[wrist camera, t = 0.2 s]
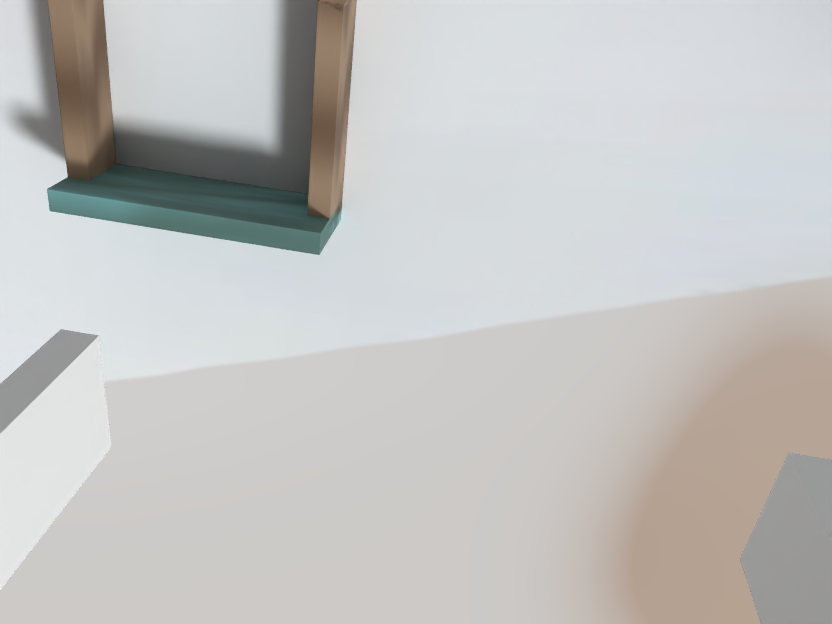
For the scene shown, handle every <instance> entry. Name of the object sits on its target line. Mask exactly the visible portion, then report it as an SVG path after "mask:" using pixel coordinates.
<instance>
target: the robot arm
mask: <svg viewBox="0 0 832 624" xmlns="http://www.w3.org/2000/svg"><path fill="white" fill-rule="evenodd" d="M110 448H111V441H110V431H109V422H108V413H107V404H106V395H105V386H104V376H103V367H102V358H101V349H100V340H99V336H98V335H92V334H86V333H80V332H74V331H68V330H62V329H61V330H60V331H59V332H58V333H56V334H55V335H54V336H53V337H52V338H51V339H50V340H49V341H48V342H46V343H45V344H44V345H43V346H42V347H41V348H40V349H39V350H38V351H36V352H35V353H34V354H33V355H32V356H31V357H30V358H29V359H28V360H26V361H25V362H24V363H23V364H22V365H21V366H20V367H19V368H18V369H16V370H15V371H14V372H13V373H12V374H11V375H10V376H9V377H8V378H6V379H5V380H4V381H3V382H2V383H1V384H0V590H1V589H2V587H3V586H4V584H5V583H6V582H7V581H8V580H9V578H10V577H11V576H12V574H13V573H14V572H15V570H16V569H17V568H18V567H19V565H20V564H21V563H22V561H23V560H24V559H25V558H26V556H27V555H28V554H29V552H30V551H31V550H32V549H33V547H34V546H35V544H36V543H37V542H38V541H39V540H40V538H41V537H42V536H43V534H44V533H45V532H46V530H47V529H48V528H49V526H50V525H51V524H52V523H53V522H54V520H55V519H56V517H57V516H58V515H59V514H60V512H61V511H62V510H63V509H64V507H65V506H66V505H67V503H68V502H69V501H70V500H71V498H72V497H73V496H74V494H75V493H76V492H77V490H78V489H79V488H80V486H81V485H82V484H83V483H84V481H85V480H86V479H87V477H88V476H89V475H90V474H91V473H92V471H93V470H94V469H95V467H96V466H97V465H98V463H99V462H100V461H101V460H102V458H103V457H104V456H105V454H106V453H107V452H108V451H109V449H110ZM740 561H741V564H742V567H743V570H744V573H745V576H746V579H747V583H748V586H749V589H750V592H751V595H752V598H753V601H754V604H755V607H756V610H757V613H758V616H759V619H760V622H761V624H832V460H829V459H823V458H817V457H811V456H805V455H800V454H793V453H788V455H787V457H786V459H785V461H784V464H783V466H782V468H781V470H780V472H779V475H778V477H777V479H776V481H775V484H774V486H773V488H772V490H771V492H770V494H769V497H768V499H767V501H766V503H765V505H764V508H763V510H762V512H761V514H760V516H759V519H758V521H757V523H756V525H755V527H754V530H753V532H752V534H751V536H750V538H749V541H748V543H747V545H746V547H745V549H744V552H743V554H742V556H741V558H740Z"/></svg>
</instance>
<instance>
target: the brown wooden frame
mask: <svg viewBox="0 0 832 624" xmlns="http://www.w3.org/2000/svg"><path fill="white" fill-rule="evenodd" d="M48 7H49V15H50V24H51V33H52V42H53V50H54V59H55V68H56V77H57V85H58V94H59V103H60V112H61V121H62V129H63V138H64V147H65V156H66V164H67V173H68V177H67V178H66V179H64V180H62V181H60V182H59V183H57V184H55V185H53V186H52V187H50V188H48V189H47V193H48V200H49V208H50V211H53V212H59V213H65V214H71V215H78V216H84V217H90V218H96V219H102V220H108V221H114V222H121V223H127V224H133V225H139V226H145V227H151V228H157V229H164V230H170V231H176V232H182V233H188V234H194V235H200V236H206V237H213V238H219V239H225V240H231V241H237V242H243V243H249V244H256V245H262V246H268V247H274V248H280V249H286V250H292V251H299V252H305V253H311V254H317V255H320V253H321V251H322V250H323V248H324V246H325V245H326V243H327V241H328V240H329V238H330V236H331V235H332V233H333V232H334V230H335V228H336V227H337V225H338V223H339V222H340V220H341V208H342V194H343V180H344V167H345V153H346V139H347V125H348V111H349V97H350V84H351V70H352V56H353V42H354V28H355V14H356V0H318V12H317V32H316V52H315V73H314V93H313V114H312V134H311V154H310V175H309V195H308V194H302V193H295V192H289V191H283V190H277V189H270V188H264V187H258V186H251V185H245V184H239V183H232V182H226V181H220V180H213V179H207V178H201V177H194V176H188V175H182V174H175V173H169V172H163V171H156V170H150V169H144V168H138V167H131V166H125V165H119V164H116V155H115V143H114V130H113V118H112V106H111V93H110V81H109V68H108V56H107V44H106V31H105V19H104V6H103V0H48Z"/></svg>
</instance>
